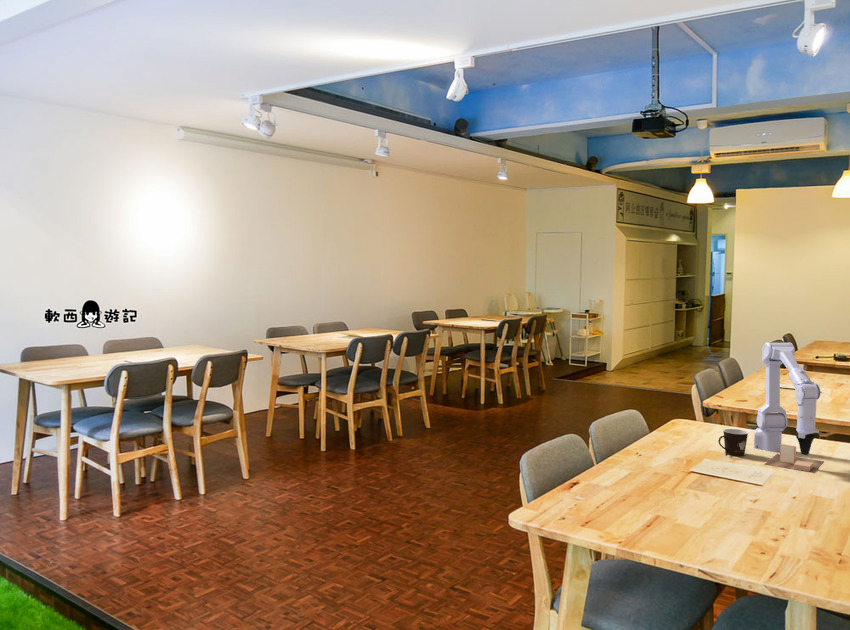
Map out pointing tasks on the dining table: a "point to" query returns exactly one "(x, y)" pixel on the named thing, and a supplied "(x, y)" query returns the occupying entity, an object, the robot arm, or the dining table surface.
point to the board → (776, 462)
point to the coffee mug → (734, 442)
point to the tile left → (787, 454)
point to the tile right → (803, 465)
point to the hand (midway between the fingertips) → (804, 454)
